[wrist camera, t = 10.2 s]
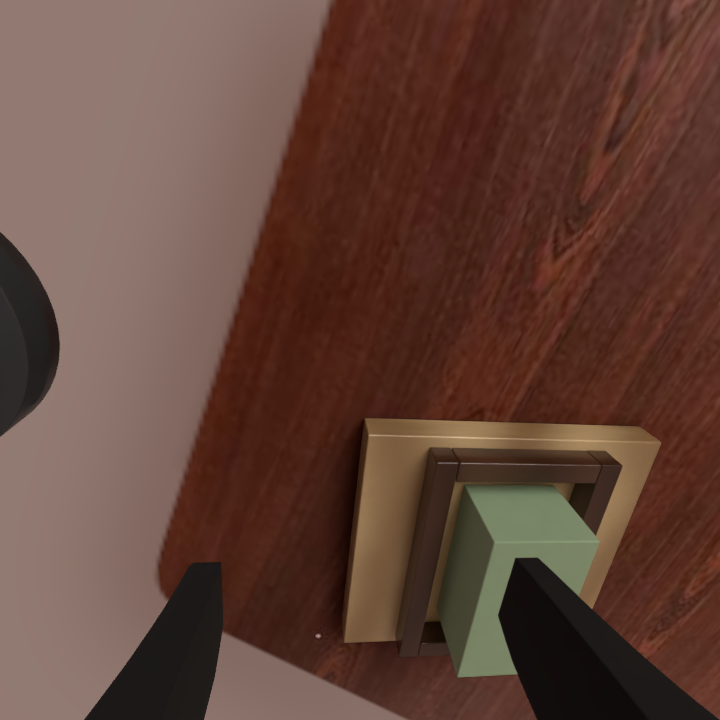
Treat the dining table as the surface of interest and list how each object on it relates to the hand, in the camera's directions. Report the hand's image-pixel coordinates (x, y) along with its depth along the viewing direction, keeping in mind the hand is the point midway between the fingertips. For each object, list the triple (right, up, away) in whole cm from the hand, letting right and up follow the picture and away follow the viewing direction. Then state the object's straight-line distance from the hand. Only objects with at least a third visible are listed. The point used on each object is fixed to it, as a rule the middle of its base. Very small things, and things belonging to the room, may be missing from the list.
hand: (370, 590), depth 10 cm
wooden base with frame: (+6, -3, +12) cm, 14 cm away
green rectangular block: (+6, -4, +11) cm, 13 cm away
